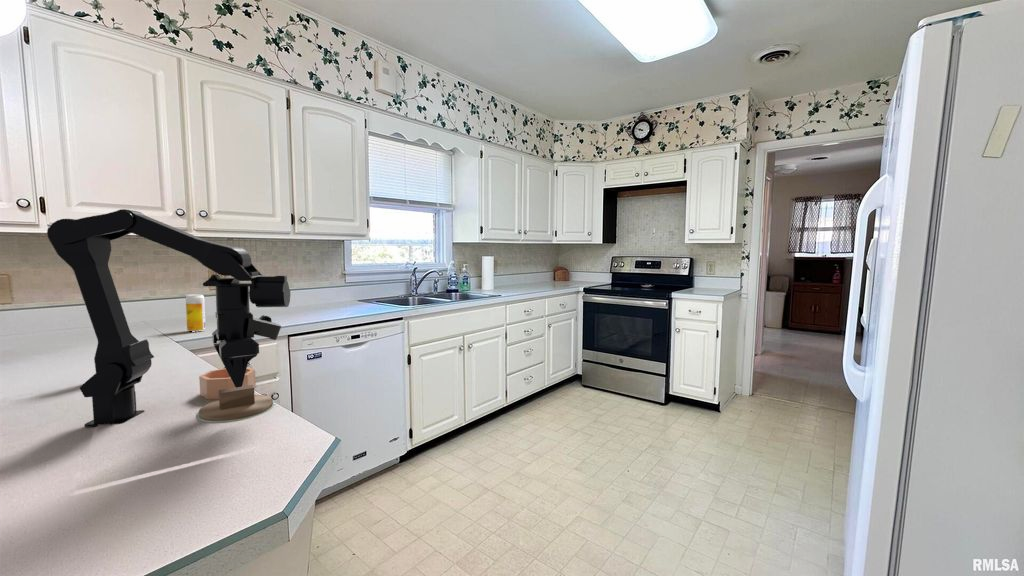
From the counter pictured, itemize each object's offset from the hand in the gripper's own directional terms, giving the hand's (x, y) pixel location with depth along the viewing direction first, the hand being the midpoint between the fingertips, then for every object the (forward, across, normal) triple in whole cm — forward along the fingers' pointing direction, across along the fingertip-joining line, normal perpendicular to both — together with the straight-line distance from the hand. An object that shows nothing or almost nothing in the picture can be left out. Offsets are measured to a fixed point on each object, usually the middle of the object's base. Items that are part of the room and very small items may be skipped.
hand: (235, 381), depth 87 cm
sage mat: (+6, 0, 0) cm, 6 cm away
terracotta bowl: (+6, +14, 0) cm, 15 cm away
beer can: (+7, +110, +1) cm, 110 cm away
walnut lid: (+6, 0, 0) cm, 6 cm away
